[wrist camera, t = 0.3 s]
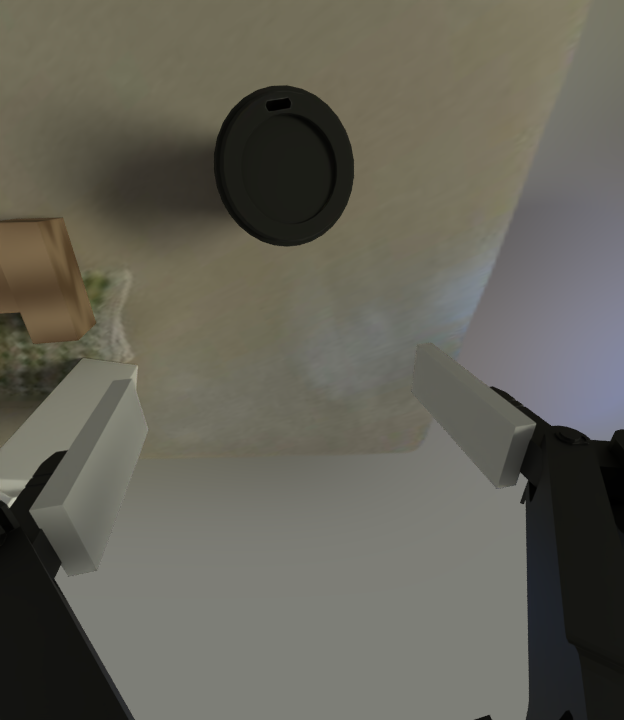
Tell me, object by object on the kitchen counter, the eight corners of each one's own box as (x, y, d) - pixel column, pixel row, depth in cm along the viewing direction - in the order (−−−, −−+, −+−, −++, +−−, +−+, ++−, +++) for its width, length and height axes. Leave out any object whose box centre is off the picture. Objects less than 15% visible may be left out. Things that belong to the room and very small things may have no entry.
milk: (138, 364, 41) (56, 516, 22) (135, 405, 43) (58, 576, 24) (81, 356, 39) (-63, 515, 20) (81, 400, 42) (-48, 580, 22)
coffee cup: (235, 237, 37) (236, 263, 24) (208, 131, 32) (189, 90, 19) (321, 219, 38) (368, 235, 25) (307, 114, 33) (353, 64, 20)
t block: (-82, 220, 31) (-134, 225, 27) (63, 217, 33) (36, 221, 29) (-27, 331, 36) (-63, 351, 32) (96, 323, 38) (78, 340, 34)
